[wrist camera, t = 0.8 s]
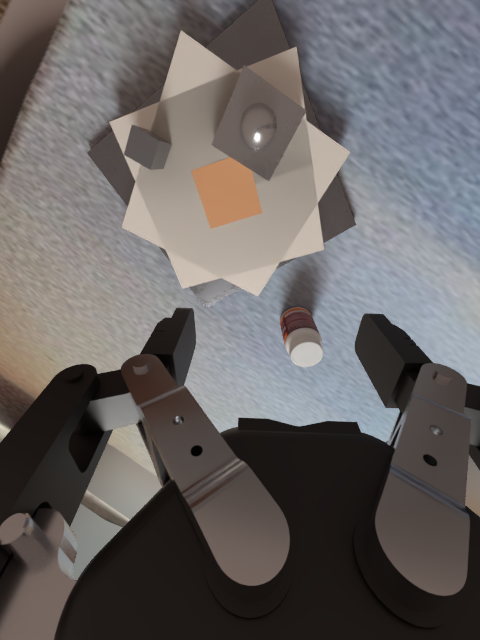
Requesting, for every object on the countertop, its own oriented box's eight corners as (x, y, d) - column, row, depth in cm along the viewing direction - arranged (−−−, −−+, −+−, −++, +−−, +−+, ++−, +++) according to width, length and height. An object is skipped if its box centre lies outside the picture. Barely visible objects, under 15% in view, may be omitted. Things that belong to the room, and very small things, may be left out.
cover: (244, 75, 23) (244, 58, 20) (300, 116, 25) (310, 107, 21) (214, 147, 26) (209, 143, 22) (266, 179, 28) (270, 182, 24)
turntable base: (267, -3, 23) (268, -10, 22) (353, 223, 32) (356, 224, 32) (91, 153, 29) (87, 152, 28) (206, 305, 39) (205, 308, 38)
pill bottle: (274, 314, 39) (281, 348, 32) (305, 301, 38) (319, 333, 31) (286, 337, 41) (295, 374, 34) (316, 326, 40) (331, 361, 33)
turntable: (398, 135, 27) (435, 128, 22) (266, 323, 38) (269, 348, 33) (159, -53, 21) (130, -123, 16) (88, 237, 32) (59, 251, 27)
